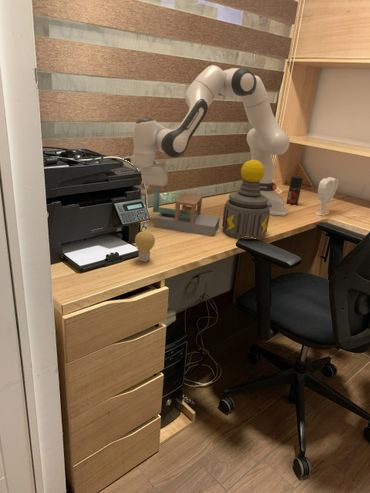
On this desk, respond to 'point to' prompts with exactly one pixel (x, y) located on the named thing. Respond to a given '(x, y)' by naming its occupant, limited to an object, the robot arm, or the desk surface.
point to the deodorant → (294, 190)
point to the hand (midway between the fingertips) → (142, 193)
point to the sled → (167, 210)
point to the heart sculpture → (326, 192)
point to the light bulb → (144, 244)
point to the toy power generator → (247, 205)
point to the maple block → (187, 210)
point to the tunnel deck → (193, 225)
